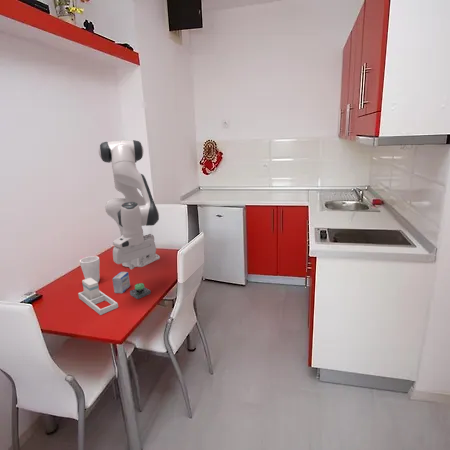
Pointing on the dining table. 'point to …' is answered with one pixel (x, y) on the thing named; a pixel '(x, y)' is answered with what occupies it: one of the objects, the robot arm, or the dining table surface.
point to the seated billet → (91, 288)
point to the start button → (139, 287)
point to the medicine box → (121, 282)
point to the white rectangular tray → (97, 300)
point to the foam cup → (90, 267)
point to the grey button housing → (141, 294)
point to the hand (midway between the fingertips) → (137, 266)
